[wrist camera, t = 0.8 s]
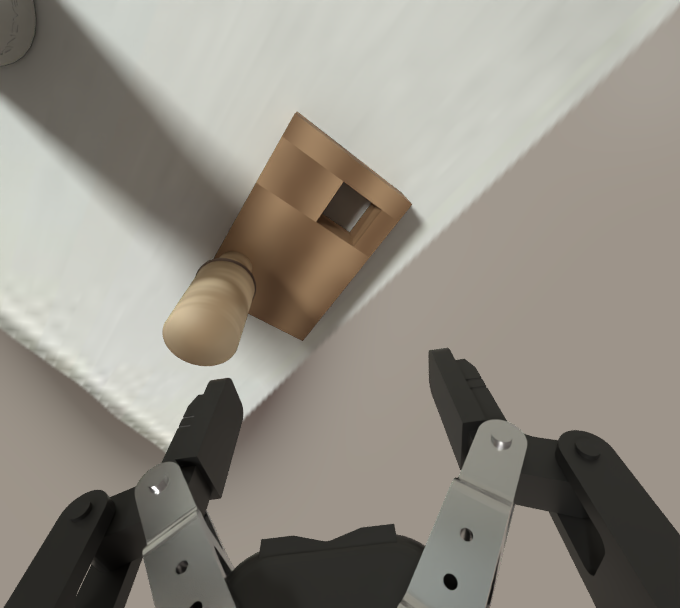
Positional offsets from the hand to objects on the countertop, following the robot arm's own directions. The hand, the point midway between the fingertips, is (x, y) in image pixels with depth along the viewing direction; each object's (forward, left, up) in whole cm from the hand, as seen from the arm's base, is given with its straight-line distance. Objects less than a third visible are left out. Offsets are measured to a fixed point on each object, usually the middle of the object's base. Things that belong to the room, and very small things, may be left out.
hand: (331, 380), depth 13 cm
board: (-1, -3, -23) cm, 23 cm away
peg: (-5, -8, -19) cm, 21 cm away
